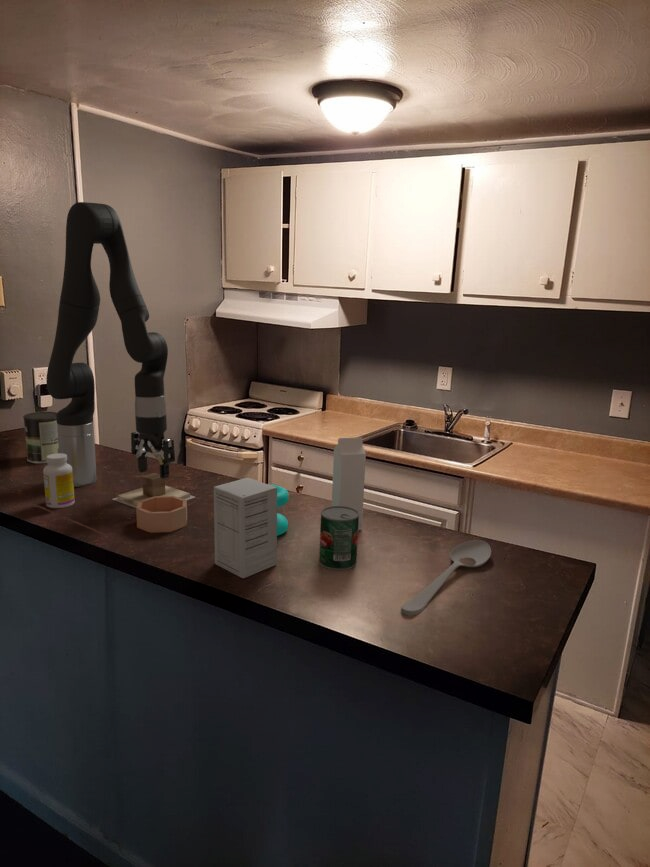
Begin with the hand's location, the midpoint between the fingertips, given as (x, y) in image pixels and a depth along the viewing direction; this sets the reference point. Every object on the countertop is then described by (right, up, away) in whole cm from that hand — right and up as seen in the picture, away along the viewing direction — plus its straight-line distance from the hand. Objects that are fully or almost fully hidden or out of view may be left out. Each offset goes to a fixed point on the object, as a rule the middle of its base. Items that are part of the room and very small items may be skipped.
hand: (153, 474), depth 154 cm
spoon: (+69, -19, -35) cm, 79 cm away
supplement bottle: (-22, -8, -4) cm, 24 cm away
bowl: (+6, -11, -13) cm, 18 cm away
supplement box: (+28, -16, -32) cm, 45 cm away
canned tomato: (+47, -16, -29) cm, 57 cm away
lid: (0, -6, +2) cm, 7 cm away
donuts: (+31, -12, -14) cm, 36 cm away
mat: (0, -7, +2) cm, 7 cm away
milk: (+49, -12, -10) cm, 52 cm away
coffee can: (-43, +2, +33) cm, 54 cm away
